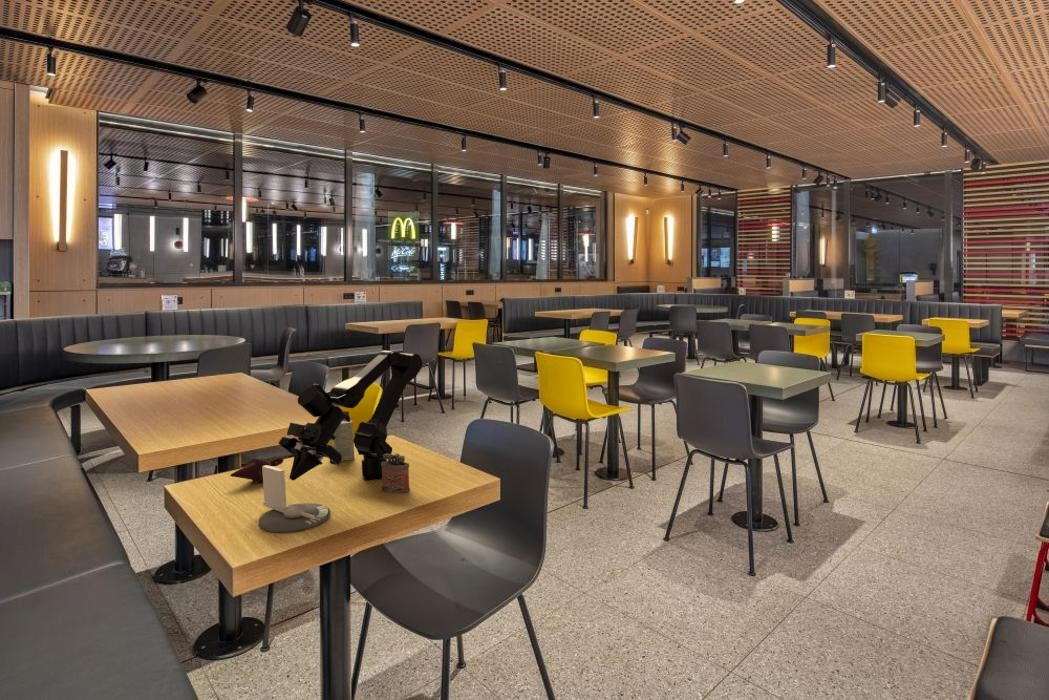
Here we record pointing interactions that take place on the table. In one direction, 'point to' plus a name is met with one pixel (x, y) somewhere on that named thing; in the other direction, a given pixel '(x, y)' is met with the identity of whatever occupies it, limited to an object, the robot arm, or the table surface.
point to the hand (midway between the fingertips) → (291, 479)
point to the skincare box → (344, 440)
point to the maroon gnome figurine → (256, 469)
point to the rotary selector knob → (279, 494)
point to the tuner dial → (294, 519)
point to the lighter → (395, 474)
